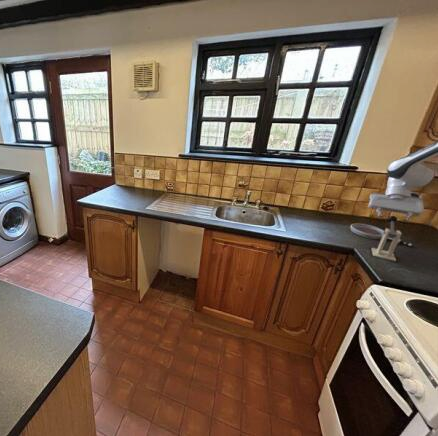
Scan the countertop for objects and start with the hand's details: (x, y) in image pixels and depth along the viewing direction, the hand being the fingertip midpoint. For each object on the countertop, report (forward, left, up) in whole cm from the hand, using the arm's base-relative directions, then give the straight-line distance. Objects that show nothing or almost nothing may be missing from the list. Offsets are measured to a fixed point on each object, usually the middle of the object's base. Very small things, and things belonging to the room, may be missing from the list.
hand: (392, 218), depth 123 cm
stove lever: (0, +5, -4) cm, 6 cm away
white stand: (0, +11, -17) cm, 20 cm away
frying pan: (-1, -17, -17) cm, 24 cm away
